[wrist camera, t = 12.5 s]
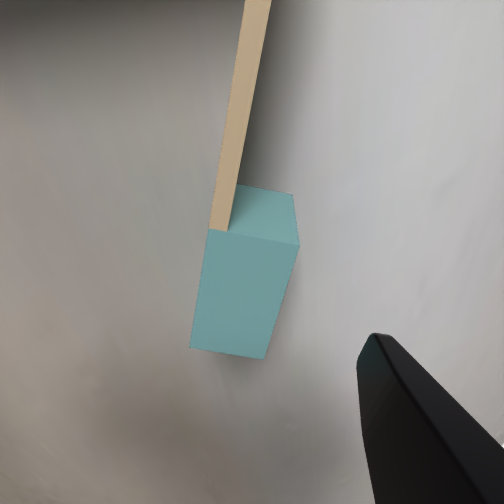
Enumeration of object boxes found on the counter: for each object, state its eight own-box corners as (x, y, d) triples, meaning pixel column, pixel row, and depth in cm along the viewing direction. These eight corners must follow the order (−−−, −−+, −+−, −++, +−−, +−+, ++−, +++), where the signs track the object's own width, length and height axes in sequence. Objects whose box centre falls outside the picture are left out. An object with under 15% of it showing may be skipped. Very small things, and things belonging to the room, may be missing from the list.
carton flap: (263, 278, 20) (263, 359, 16) (206, 267, 20) (189, 347, 15) (397, -214, 11) (497, -378, 6) (293, -245, 11) (316, -439, 6)
